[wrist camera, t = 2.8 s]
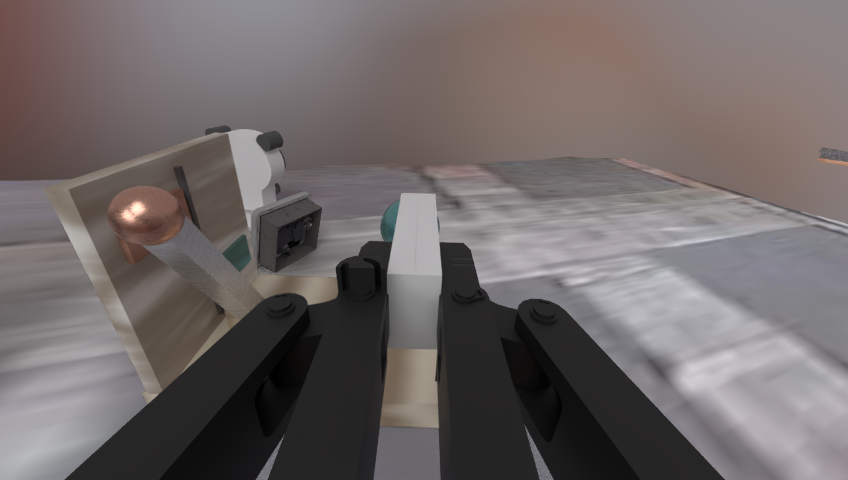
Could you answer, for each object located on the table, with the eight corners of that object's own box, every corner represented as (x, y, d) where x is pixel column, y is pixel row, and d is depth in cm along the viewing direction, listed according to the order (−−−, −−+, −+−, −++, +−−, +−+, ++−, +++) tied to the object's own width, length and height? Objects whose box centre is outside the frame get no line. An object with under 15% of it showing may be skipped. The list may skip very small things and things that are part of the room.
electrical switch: (301, 241, 53) (298, 186, 48) (327, 252, 51) (326, 196, 47) (250, 268, 46) (240, 206, 41) (277, 282, 44) (270, 220, 39)
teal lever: (390, 337, 30) (375, 234, 16) (393, 303, 32) (381, 184, 18) (425, 338, 30) (442, 237, 16) (426, 305, 32) (442, 187, 18)
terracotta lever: (235, 331, 30) (74, 221, 16) (246, 298, 32) (110, 171, 17) (270, 332, 30) (144, 225, 16) (280, 299, 32) (173, 174, 17)
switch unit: (155, 419, 26) (36, 188, 17) (249, 294, 40) (210, 132, 31) (447, 428, 27) (476, 208, 18) (439, 302, 41) (453, 144, 32)
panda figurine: (305, 208, 64) (295, 127, 57) (268, 233, 55) (250, 139, 48) (250, 200, 66) (234, 121, 60) (205, 223, 57) (179, 132, 50)
